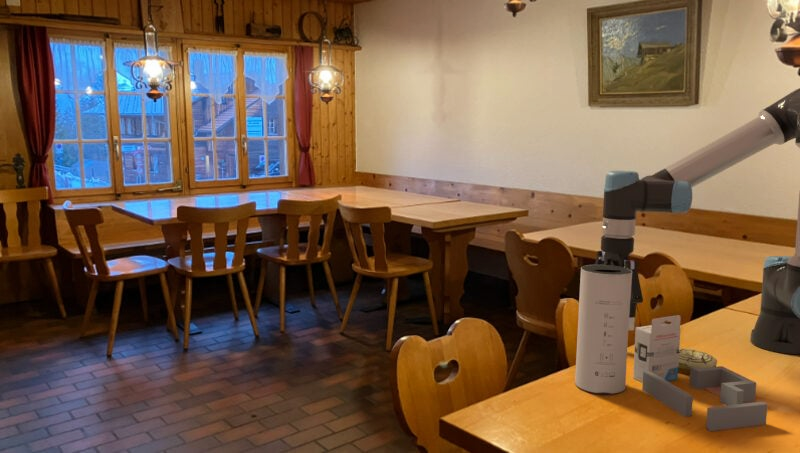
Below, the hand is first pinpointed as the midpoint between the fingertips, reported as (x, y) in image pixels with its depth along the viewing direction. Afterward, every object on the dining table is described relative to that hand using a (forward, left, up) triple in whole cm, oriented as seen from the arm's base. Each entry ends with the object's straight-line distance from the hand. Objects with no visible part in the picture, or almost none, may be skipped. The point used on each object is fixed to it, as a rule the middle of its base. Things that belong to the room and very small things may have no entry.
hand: (612, 322), depth 167 cm
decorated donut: (-12, +14, -8) cm, 20 cm away
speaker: (+14, +19, -8) cm, 25 cm away
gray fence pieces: (-3, +33, -8) cm, 34 cm away
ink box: (0, +18, -8) cm, 19 cm away
